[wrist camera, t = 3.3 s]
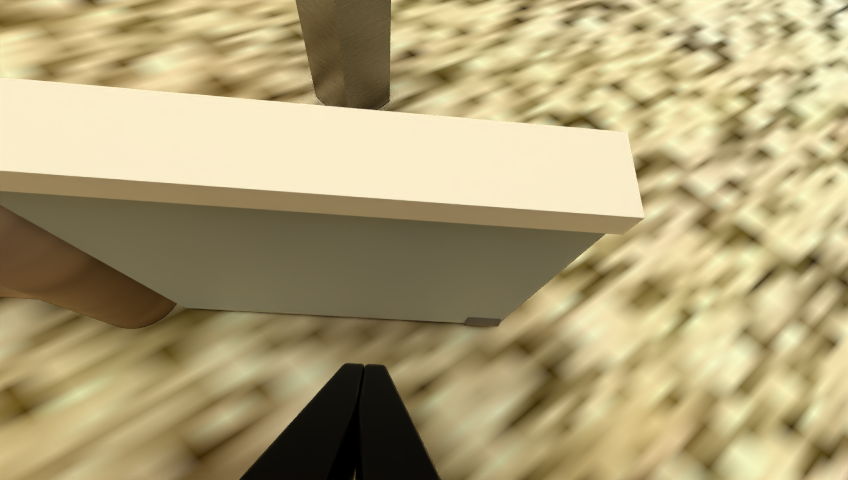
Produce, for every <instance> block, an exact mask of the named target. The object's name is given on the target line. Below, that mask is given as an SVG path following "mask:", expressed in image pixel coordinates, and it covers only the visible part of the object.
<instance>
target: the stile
mask: <svg viewBox="0 0 848 480" xmlns="http://www.w3.org/2000/svg"><path fill="white" fill-rule="evenodd" d="M296 4H297V9H298V13H299V18H300V23H301V28H302V32H303V37H304V42H305V47H306V51H307V56H308V61H309V65H310V70H311V75H312V80H313V84H314V89H315V94H316V96H317V97H318V98H319V99H320V100H321V101H322V102H323V103H324V104H325V105H326V106H333V107H345V108H356V109H368V110H377V109H379V108H380V107H382V106H383V105H385V104H386V103H388V102H389V90H390V25H391V0H296Z"/></svg>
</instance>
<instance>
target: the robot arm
mask: <svg viewBox="0 0 848 480" xmlns="http://www.w3.org/2000/svg"><path fill="white" fill-rule="evenodd" d="M355 470H356V473H355ZM354 477H355V480H441V478H440V476H439V474H438V472H437V470H436V468H435V466H434V464H433V462H432V460H431V458H430V456H429V454H428V452H427V450H426V448H425V446H424V443H423V441H422V439H421V437H420V435H419V433H418V431H417V429H416V427H415V425H414V423H413V421H412V419H411V417H410V415H409V413H408V411H407V409H406V407H405V405H404V403H403V401H402V399H401V397H400V395H399V393H398V391H397V389H396V387H395V385H394V383H393V381H392V379H391V377H390V375H389V373H388V371H387V369H386V367H385V366H384V365H375V364H367V365H366V366H365V368H364V365H363V364H354V363H346V364H344V365H343V366H342V367H341V368H340V369H339V370H338V371H337V372H336V373H335V375H334V376H333V377H332V378H331V379H330V380H329V381H328V382H327V383H326V385H325V386H324V387H323V388H322V389H321V390H320V391H319V392H318V393H317V394H316V396H315V397H314V398H313V399H312V400H311V401H310V402H309V403H308V404H307V405H306V407H305V408H304V409H303V410H302V411H301V412H300V413H299V414H298V415H297V417H296V418H295V419H294V420H293V421H292V422H291V423H290V424H289V425H288V426H287V428H286V429H285V430H284V431H283V432H282V433H281V434H280V435H279V436H278V437H277V439H276V440H275V441H274V442H273V443H272V444H271V445H270V446H269V447H268V449H267V450H266V451H265V452H264V453H263V454H262V455H261V456H260V457H259V458H258V460H257V461H256V462H255V463H254V464H253V465H252V466H251V467H250V468H249V469H248V471H247V472H246V473H245V474H244V475H243V476H242V477H241V478H240V479H239V480H354Z"/></svg>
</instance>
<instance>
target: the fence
mask: <svg viewBox="0 0 848 480" xmlns="http://www.w3.org/2000/svg"><path fill="white" fill-rule="evenodd" d="M0 297H12V298H30V299H40V300H43V301H46V302H49V303H51V304H54V305H57V306H60V307H63V308H66V309H69V310H72V311H74V312H77V313H80V314H83V315H86V316H89V317H92V318H95V319H97V320H100V321H103V322H106V323H109V324H112V325H115V326H118V327H121V328H140V327H144V326H148V325H150V324H153V323H155V322H157V321H158V320H160V319H161V318H163V317H164V316H165V315H167V314H168V313H169V312H170V311H171V310H172V309H173V307H174V306H175V305H176V303H175V302H173V301H172V300H170V299H168V298H166V297H164V296H163V295H161V294H159V293H157V292H155V291H154V290H152V289H150V288H148V287H146V286H145V285H143V284H141V283H139V282H137V281H136V280H134V279H132V278H130V277H129V276H127V275H125V274H123V273H121V272H120V271H118V270H116V269H114V268H112V267H111V266H109V265H107V264H105V263H103V262H102V261H100V260H98V259H96V258H94V257H93V256H91V255H89V254H87V253H86V252H84V251H82V250H80V249H78V248H77V247H75V246H73V245H71V244H69V243H68V242H66V241H64V240H62V239H60V238H59V237H57V236H55V235H53V234H51V233H50V232H48V231H46V230H44V229H43V228H41V227H39V226H37V225H35V224H34V223H32V222H30V221H28V220H26V219H25V218H23V217H21V216H19V215H17V214H16V213H14V212H12V211H10V210H9V209H7V208H5V207H3V206H1V205H0Z"/></svg>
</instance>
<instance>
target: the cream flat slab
mask: <svg viewBox="0 0 848 480" xmlns="http://www.w3.org/2000/svg"><path fill="white" fill-rule="evenodd" d="M0 205H1V206H3V207H5V208H7V209H9V210H10V211H12V212H14V213H16V214H17V215H19V216H21V217H23V218H25V219H26V220H28V221H30V222H32V223H34V224H35V225H37V226H39V227H41V228H43V229H44V230H46V231H48V232H50V233H51V234H53V235H55V236H57V237H59V238H60V239H62V240H64V241H66V242H68V243H69V244H71V245H73V246H75V247H77V248H78V249H80V250H82V251H84V252H86V253H87V254H89V255H91V256H93V257H94V258H96V259H98V260H100V261H102V262H103V263H105V264H107V265H109V266H111V267H112V268H114V269H116V270H118V271H120V272H121V273H123V274H125V275H127V276H129V277H130V278H132V279H134V280H136V281H137V282H139V283H141V284H143V285H145V286H146V287H148V288H150V289H152V290H154V291H155V292H157V293H159V294H161V295H163V296H164V297H166V298H168V299H170V300H172V301H173V302H175V303H177V304H179V305H180V306H182V307H184V308H196V309H214V310H233V311H251V312H270V313H288V314H307V315H325V316H344V317H362V318H381V319H399V320H418V321H436V322H455V323H464V325H481V326H498V325H499V324H500V322H501V321H502V320H503V319H505V318H506V317H507V316H508V315H509V314H511V313H512V312H513V311H514V310H515V309H517V308H518V307H519V306H520V305H521V304H522V303H524V302H525V301H526V300H527V299H528V298H530V297H531V296H532V295H533V294H534V293H536V292H537V291H538V290H539V289H540V288H542V287H543V286H544V285H545V284H546V283H548V282H549V281H550V280H551V279H552V278H553V277H555V276H556V275H557V274H558V273H559V272H561V271H562V270H563V269H564V268H565V267H567V266H568V265H569V264H570V263H571V262H573V261H574V260H575V259H576V258H577V257H578V256H580V255H581V254H582V253H583V252H584V251H586V250H587V249H588V248H589V247H590V246H592V245H593V244H594V243H595V242H596V241H598V240H599V239H600V238H601V237H602V236H604V235H605V234H620V235H623V234H624V233H626V232H627V231H628V230H630V229H631V228H632V227H633V226H635V225H636V224H637V223H639V222H640V221H641V220H642V219H644V213H643V208H642V203H641V198H640V193H639V188H638V183H637V178H636V173H635V168H634V163H633V158H632V153H631V148H630V143H629V138H628V133H627V132H619V131H608V130H596V129H585V128H573V127H562V126H550V125H539V124H528V123H516V122H505V121H493V120H482V119H471V118H459V117H448V116H436V115H425V114H413V113H402V112H391V111H379V110H368V109H356V108H345V107H333V106H322V105H311V104H299V103H288V102H276V101H265V100H253V99H242V98H231V97H219V96H208V95H196V94H185V93H173V92H162V91H151V90H139V89H128V88H116V87H105V86H93V85H82V84H71V83H59V82H48V81H36V80H25V79H13V78H2V77H0Z"/></svg>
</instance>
